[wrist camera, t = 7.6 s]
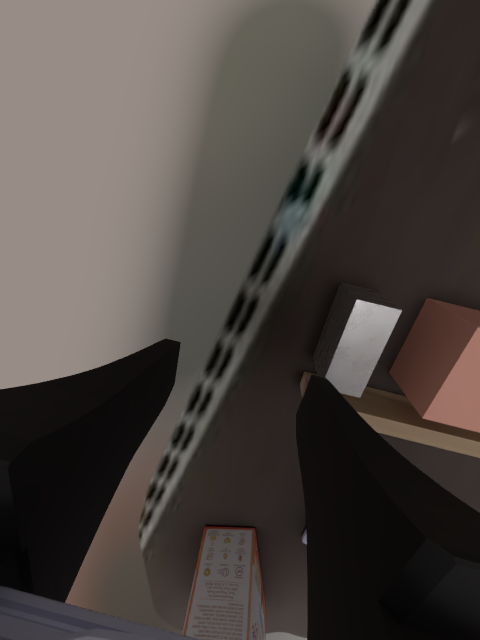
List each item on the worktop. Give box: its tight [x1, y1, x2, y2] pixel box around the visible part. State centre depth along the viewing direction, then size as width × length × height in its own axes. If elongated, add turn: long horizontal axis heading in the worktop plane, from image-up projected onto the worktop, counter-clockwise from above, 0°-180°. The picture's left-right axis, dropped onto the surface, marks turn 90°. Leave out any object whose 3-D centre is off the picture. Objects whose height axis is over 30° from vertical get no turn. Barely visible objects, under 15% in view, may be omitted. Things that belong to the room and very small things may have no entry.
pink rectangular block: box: [389, 298, 480, 433], centre depth 17 cm, size 6×4×5 cm, turn 168°
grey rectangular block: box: [313, 282, 402, 398], centre depth 18 cm, size 6×2×4 cm, turn 168°
